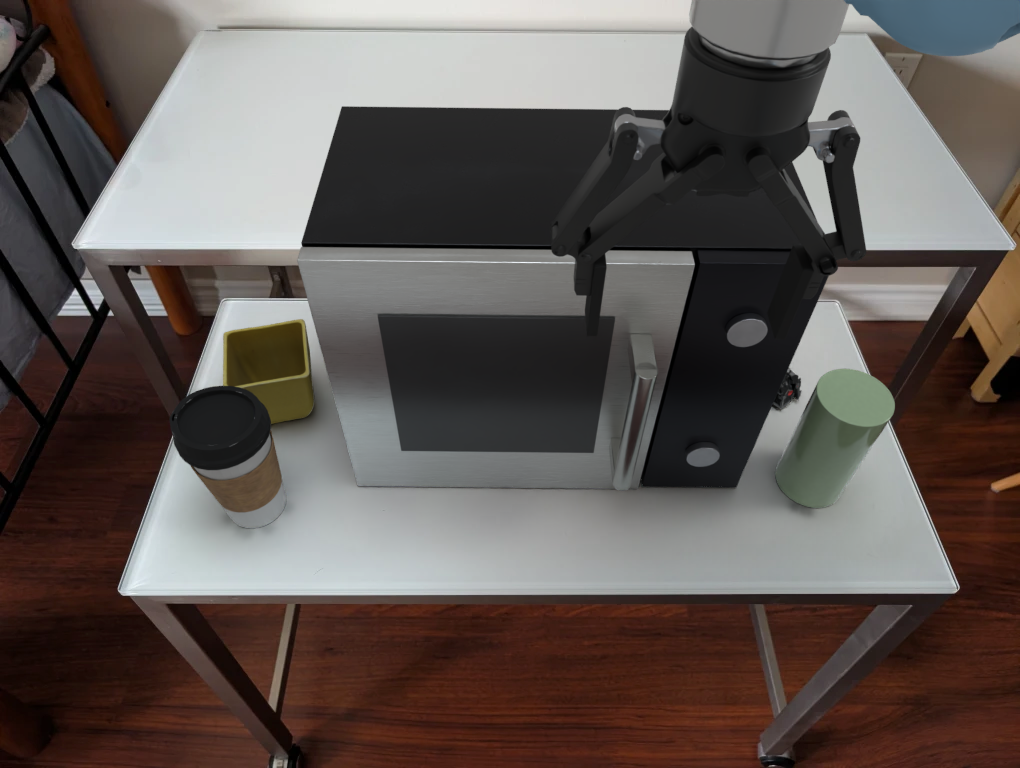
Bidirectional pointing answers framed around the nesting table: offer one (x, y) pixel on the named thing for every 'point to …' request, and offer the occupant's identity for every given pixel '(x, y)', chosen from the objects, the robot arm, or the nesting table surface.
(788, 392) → the toy car
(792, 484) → the canister
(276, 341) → the flower pot
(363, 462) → the microwave door
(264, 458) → the coffee cup
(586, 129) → the microwave
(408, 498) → the nesting table surface
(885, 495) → the nesting table surface
